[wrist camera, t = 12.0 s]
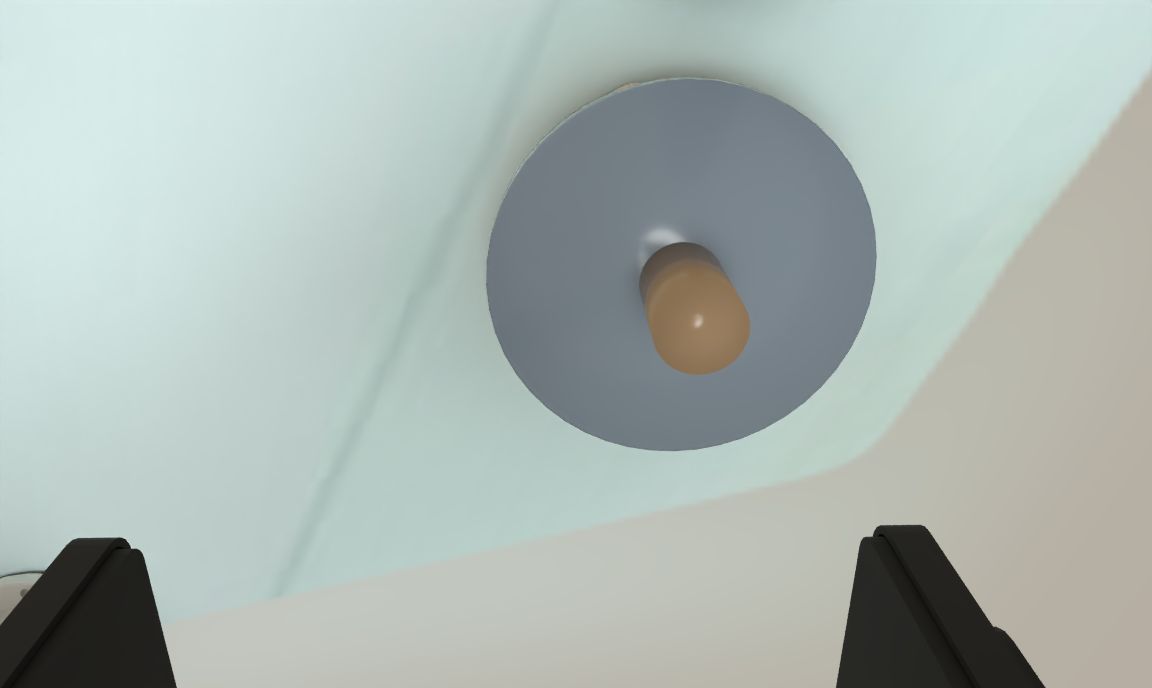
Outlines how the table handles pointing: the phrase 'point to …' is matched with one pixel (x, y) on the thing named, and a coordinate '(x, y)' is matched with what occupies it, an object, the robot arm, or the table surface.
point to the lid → (680, 264)
